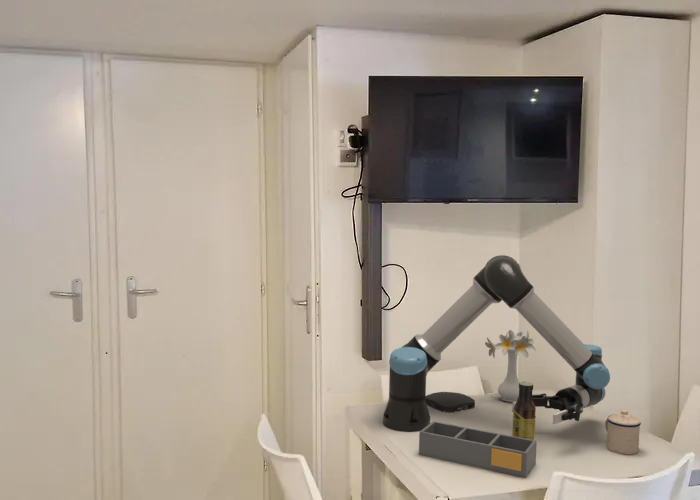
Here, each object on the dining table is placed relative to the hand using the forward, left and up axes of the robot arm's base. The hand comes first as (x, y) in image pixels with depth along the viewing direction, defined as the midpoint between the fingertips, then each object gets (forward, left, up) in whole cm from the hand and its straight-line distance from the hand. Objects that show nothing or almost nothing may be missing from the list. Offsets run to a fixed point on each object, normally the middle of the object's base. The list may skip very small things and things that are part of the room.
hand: (533, 413), depth 195 cm
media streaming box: (-35, +26, -11) cm, 45 cm away
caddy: (-11, -17, -10) cm, 23 cm away
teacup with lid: (+22, +14, -11) cm, 28 cm away
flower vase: (-18, +42, -11) cm, 47 cm away
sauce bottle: (-2, -3, -11) cm, 11 cm away
